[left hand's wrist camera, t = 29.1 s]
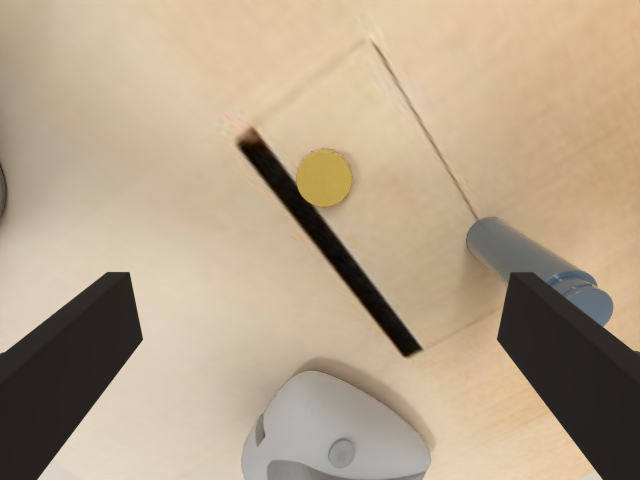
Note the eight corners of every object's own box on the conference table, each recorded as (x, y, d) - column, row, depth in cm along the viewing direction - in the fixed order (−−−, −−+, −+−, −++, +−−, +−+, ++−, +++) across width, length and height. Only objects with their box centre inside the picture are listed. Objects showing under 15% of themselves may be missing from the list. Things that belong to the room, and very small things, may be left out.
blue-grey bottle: (471, 215, 38) (561, 281, 24) (515, 218, 38) (630, 285, 24) (462, 256, 40) (541, 340, 26) (504, 258, 40) (607, 344, 26)
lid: (333, 210, 38) (334, 216, 36) (288, 185, 37) (286, 190, 35) (360, 165, 36) (363, 169, 34) (313, 138, 36) (313, 140, 33)
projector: (282, 497, 53) (269, 634, 39) (222, 375, 45) (180, 493, 32) (432, 465, 51) (474, 598, 37) (396, 331, 43) (431, 437, 29)
